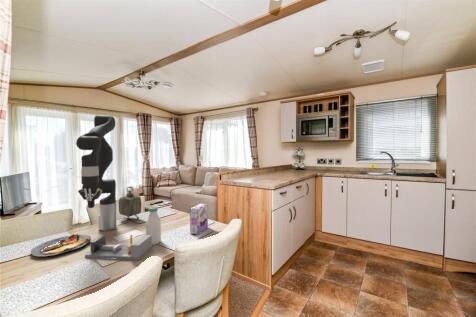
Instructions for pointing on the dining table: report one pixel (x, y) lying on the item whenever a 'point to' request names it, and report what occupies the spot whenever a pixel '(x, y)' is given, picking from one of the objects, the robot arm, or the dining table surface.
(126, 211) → the tabletop clock
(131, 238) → the needle
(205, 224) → the candy box
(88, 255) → the base
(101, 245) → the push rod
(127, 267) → the dining table surface
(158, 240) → the milk bottle
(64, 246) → the food plate
